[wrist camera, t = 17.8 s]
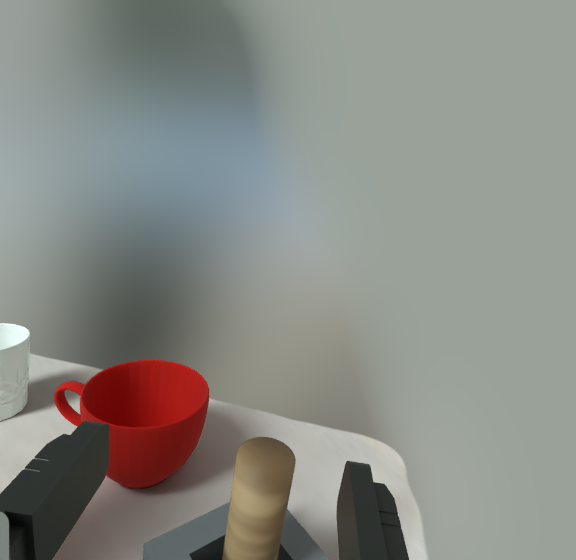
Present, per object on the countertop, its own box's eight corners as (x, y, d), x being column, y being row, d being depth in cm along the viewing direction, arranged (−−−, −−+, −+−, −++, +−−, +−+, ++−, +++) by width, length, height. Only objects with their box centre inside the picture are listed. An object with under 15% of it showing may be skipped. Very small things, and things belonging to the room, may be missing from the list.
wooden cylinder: (231, 659, 28) (259, 489, 24) (205, 608, 31) (225, 448, 27) (275, 623, 30) (307, 465, 26) (247, 579, 33) (272, 430, 29)
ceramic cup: (90, 414, 52) (91, 345, 49) (215, 440, 50) (223, 371, 48) (13, 490, 39) (9, 404, 36) (177, 527, 38) (185, 441, 35)
